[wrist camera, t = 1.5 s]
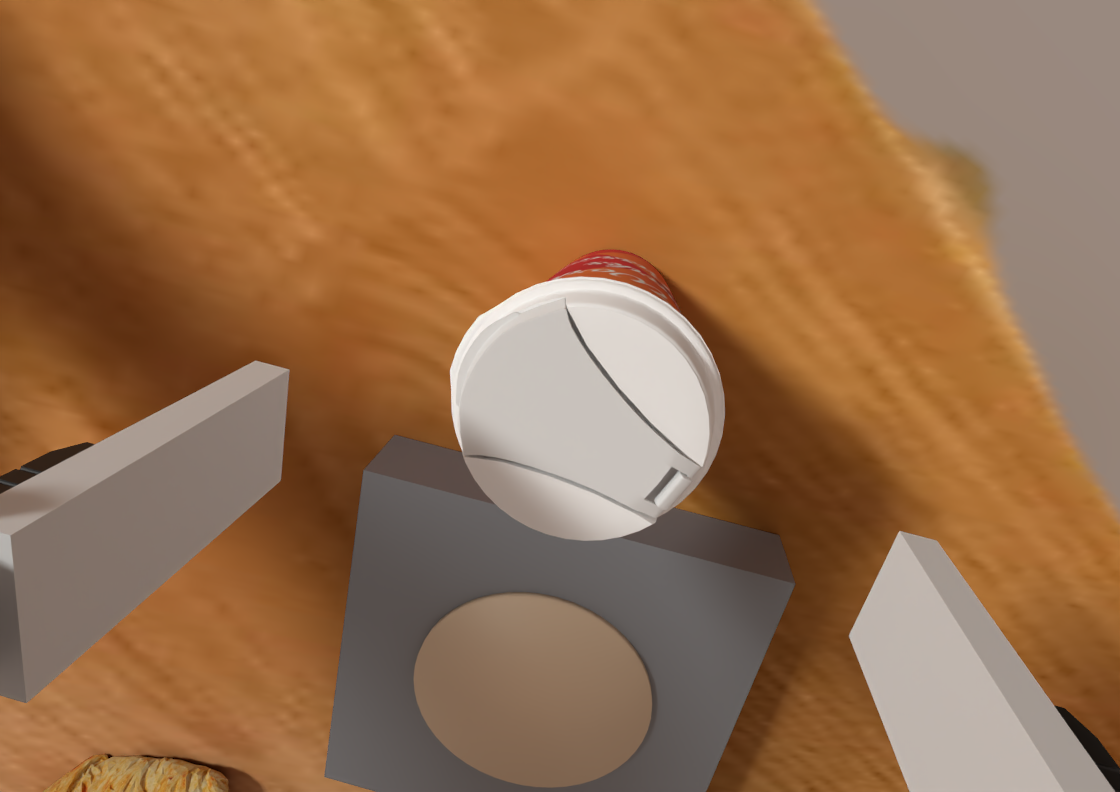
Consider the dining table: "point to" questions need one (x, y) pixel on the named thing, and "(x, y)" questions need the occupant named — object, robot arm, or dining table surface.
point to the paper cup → (588, 400)
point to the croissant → (139, 776)
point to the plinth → (540, 642)
